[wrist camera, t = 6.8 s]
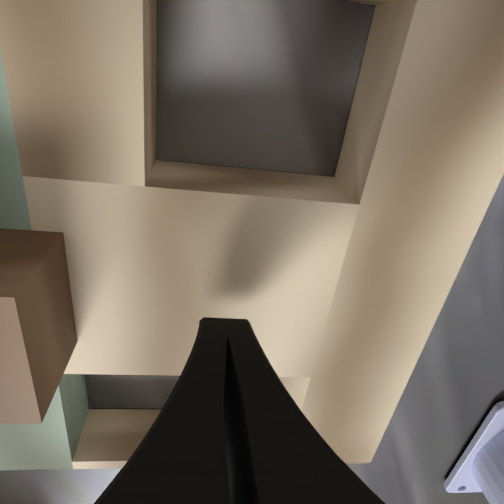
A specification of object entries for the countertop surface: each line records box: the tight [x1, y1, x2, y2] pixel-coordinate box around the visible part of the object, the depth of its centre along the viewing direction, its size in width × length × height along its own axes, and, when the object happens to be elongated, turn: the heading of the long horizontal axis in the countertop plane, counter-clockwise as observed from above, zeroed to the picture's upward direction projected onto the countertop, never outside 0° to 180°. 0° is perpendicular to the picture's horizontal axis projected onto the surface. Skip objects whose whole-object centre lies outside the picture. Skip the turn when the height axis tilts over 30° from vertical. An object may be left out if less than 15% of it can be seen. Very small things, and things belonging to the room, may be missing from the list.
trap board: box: [0, 0, 504, 471], centre depth 13 cm, size 16×18×2 cm
